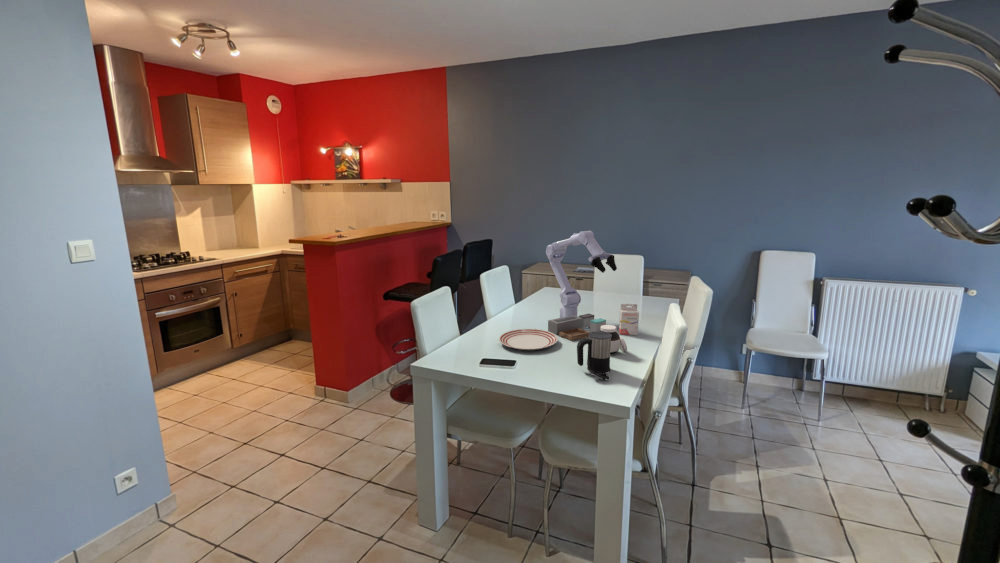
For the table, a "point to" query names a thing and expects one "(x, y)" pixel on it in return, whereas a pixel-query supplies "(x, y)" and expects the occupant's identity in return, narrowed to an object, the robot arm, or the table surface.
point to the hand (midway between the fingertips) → (609, 270)
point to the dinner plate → (528, 339)
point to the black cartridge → (587, 319)
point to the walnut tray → (574, 334)
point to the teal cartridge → (596, 324)
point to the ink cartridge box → (629, 319)
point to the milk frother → (596, 353)
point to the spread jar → (614, 339)
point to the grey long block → (564, 324)
